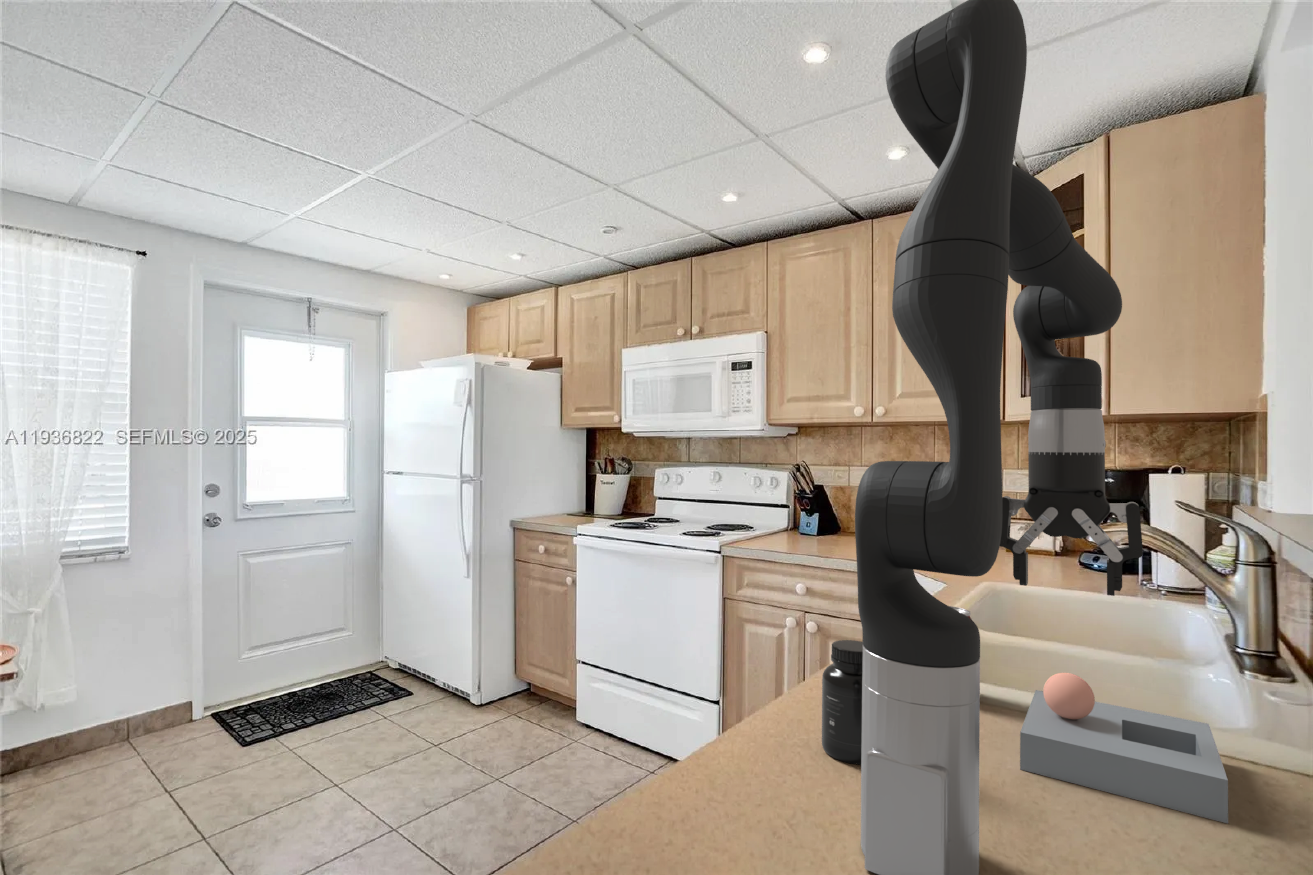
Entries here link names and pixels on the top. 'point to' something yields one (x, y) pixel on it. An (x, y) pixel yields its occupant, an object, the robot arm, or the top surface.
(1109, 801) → the top surface
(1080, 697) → the ball
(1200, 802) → the grey block with recess
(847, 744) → the supplement bottle
